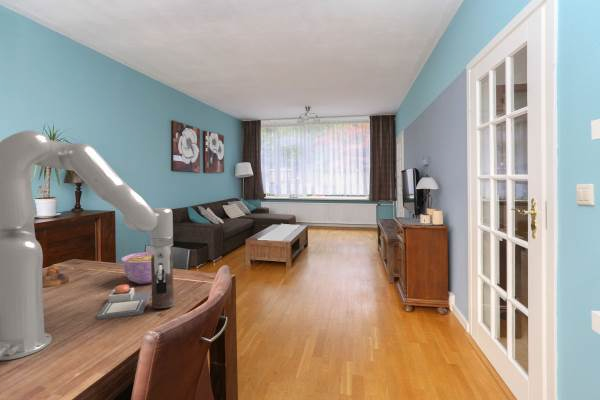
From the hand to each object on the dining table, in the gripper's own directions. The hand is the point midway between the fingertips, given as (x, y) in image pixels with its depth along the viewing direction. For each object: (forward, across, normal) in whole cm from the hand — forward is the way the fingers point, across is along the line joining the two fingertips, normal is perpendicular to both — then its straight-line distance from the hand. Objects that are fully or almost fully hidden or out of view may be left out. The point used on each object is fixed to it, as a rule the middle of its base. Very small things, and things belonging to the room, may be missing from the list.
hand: (162, 289), depth 112 cm
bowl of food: (+7, +34, +10) cm, 36 cm away
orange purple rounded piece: (+7, +43, +50) cm, 66 cm away
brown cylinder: (+7, 0, 0) cm, 7 cm away
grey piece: (+7, +6, +13) cm, 16 cm away
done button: (+4, +12, +16) cm, 20 cm away
